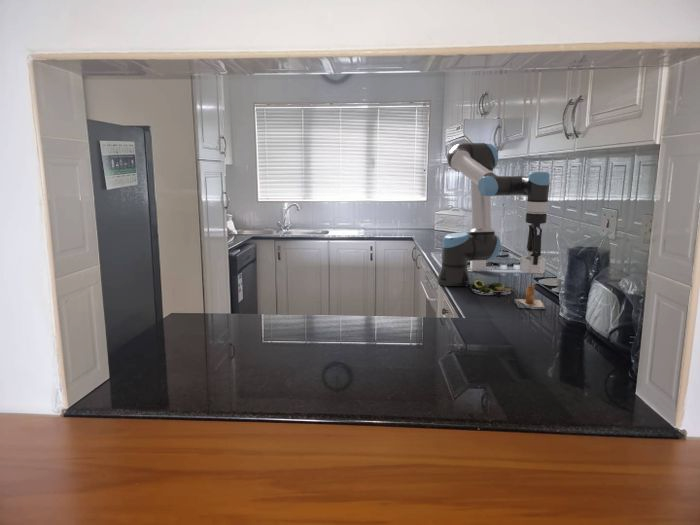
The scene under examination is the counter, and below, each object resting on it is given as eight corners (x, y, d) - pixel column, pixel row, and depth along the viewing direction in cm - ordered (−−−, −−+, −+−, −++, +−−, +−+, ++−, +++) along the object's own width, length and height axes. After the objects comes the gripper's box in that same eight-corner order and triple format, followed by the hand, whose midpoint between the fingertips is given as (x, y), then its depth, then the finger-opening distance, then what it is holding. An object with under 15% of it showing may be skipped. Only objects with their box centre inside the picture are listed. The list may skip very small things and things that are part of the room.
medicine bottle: (483, 268, 269) (484, 246, 266) (485, 271, 262) (487, 248, 259) (469, 268, 269) (471, 245, 267) (471, 270, 262) (473, 248, 260)
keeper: (517, 308, 197) (519, 288, 195) (514, 301, 207) (515, 282, 205) (544, 310, 195) (546, 290, 194) (540, 302, 205) (541, 283, 203)
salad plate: (511, 287, 231) (511, 277, 230) (520, 298, 213) (520, 287, 212) (468, 286, 232) (468, 276, 232) (473, 296, 215) (474, 286, 214)
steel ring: (521, 272, 195) (522, 260, 194) (518, 267, 203) (519, 255, 202) (545, 273, 193) (546, 260, 192) (541, 268, 201) (542, 256, 200)
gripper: (552, 215, 182) (547, 276, 187) (541, 210, 203) (537, 264, 208) (530, 215, 184) (526, 275, 188) (522, 209, 204) (518, 264, 209)
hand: (532, 270), depth 198 cm, fingers closed on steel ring, 9 cm apart
